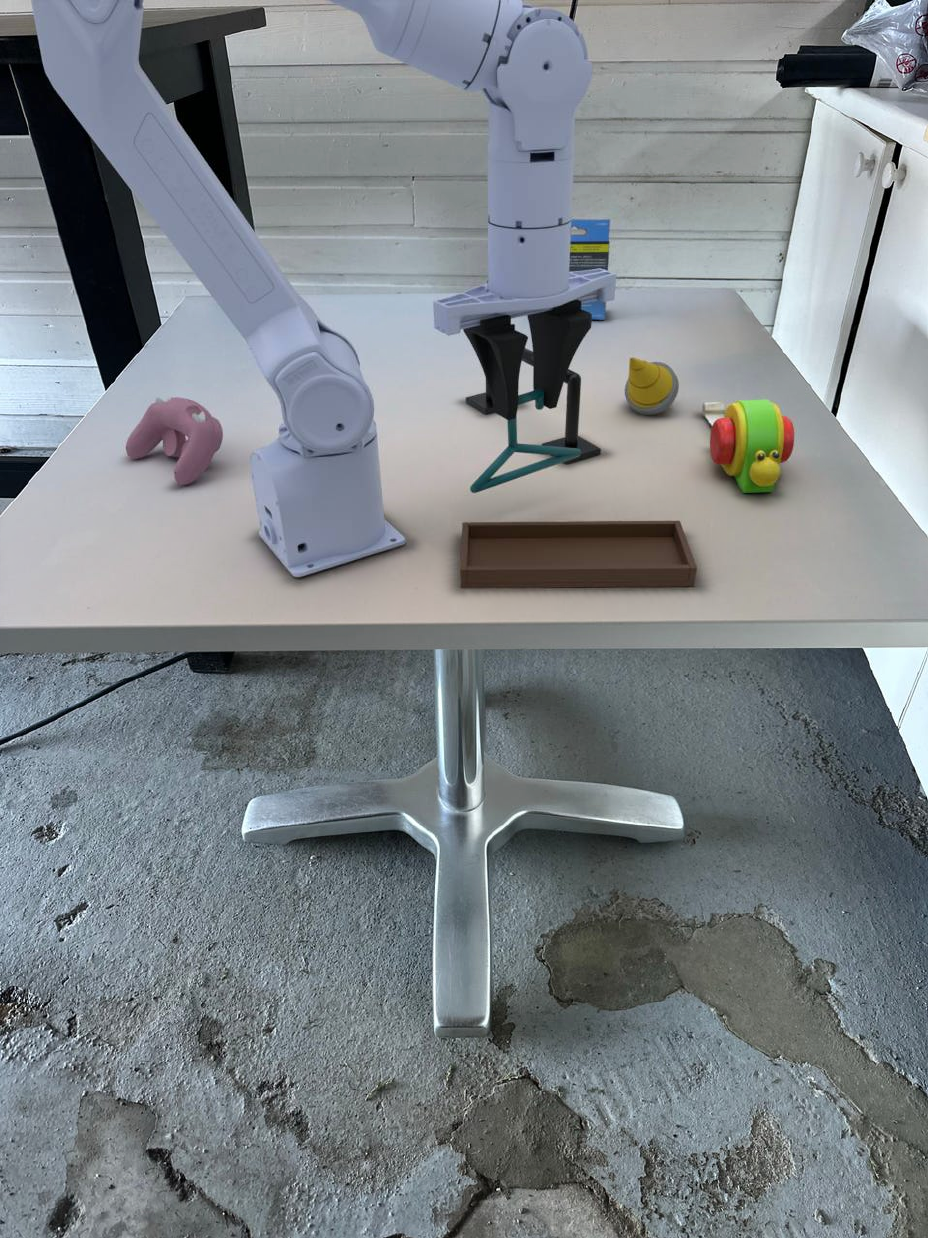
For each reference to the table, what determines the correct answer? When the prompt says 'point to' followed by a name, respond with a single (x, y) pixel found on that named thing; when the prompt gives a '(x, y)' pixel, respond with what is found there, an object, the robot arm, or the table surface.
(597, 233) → the tape cartridge
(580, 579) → the tray
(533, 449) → the hanger
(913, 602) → the table surface
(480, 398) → the rail
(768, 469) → the toy measuring tape
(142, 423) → the video game controller
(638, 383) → the yellow tiered cone
